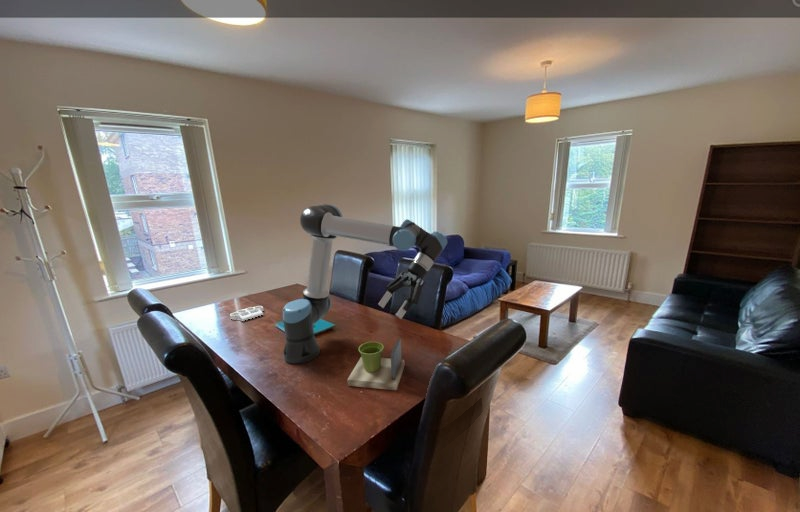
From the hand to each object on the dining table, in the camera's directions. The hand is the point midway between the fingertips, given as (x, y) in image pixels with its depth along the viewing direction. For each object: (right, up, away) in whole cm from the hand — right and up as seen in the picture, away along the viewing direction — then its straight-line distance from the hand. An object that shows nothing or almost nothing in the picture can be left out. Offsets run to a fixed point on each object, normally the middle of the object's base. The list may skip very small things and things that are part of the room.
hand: (388, 311), depth 118 cm
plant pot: (-6, -22, 0) cm, 23 cm away
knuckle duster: (-84, -14, +63) cm, 106 cm away
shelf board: (-4, -24, 0) cm, 25 cm away
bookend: (+3, -22, -2) cm, 22 cm away
